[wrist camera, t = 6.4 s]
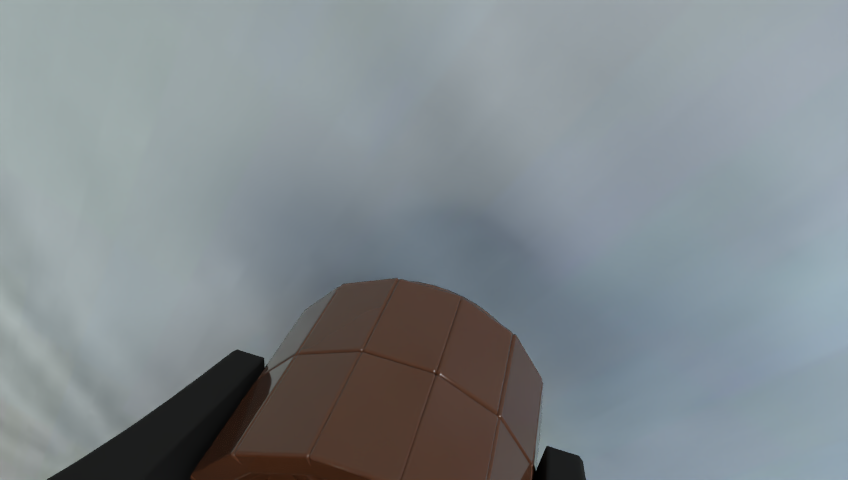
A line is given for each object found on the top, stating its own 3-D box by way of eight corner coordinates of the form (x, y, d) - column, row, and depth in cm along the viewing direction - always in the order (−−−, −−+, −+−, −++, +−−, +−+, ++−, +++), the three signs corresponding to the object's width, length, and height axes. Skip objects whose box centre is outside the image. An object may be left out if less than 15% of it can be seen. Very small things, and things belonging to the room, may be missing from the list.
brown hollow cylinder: (514, 475, 14) (482, 696, 10) (301, 407, 15) (199, 589, 11) (580, 309, 11) (569, 543, 7) (303, 234, 11) (158, 406, 8)
